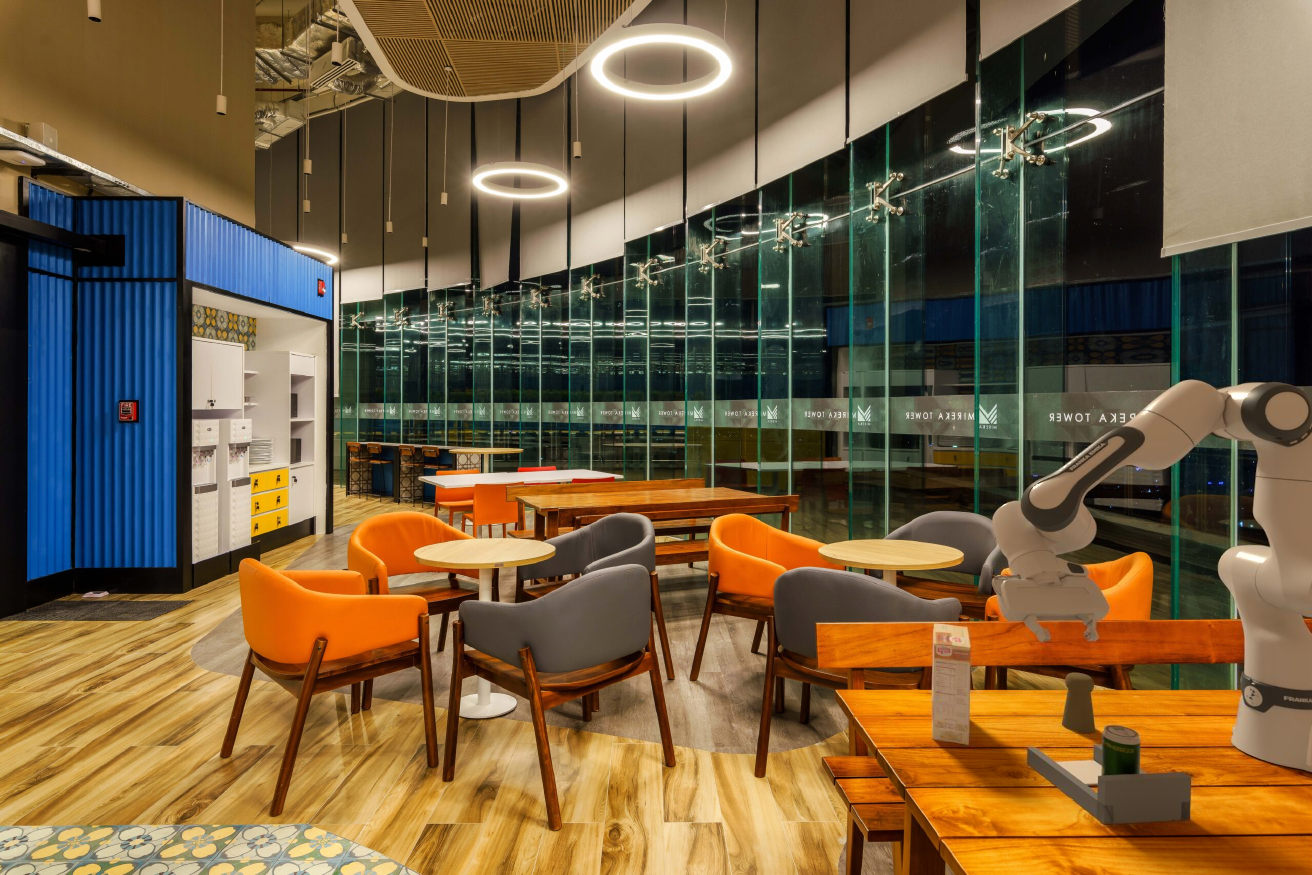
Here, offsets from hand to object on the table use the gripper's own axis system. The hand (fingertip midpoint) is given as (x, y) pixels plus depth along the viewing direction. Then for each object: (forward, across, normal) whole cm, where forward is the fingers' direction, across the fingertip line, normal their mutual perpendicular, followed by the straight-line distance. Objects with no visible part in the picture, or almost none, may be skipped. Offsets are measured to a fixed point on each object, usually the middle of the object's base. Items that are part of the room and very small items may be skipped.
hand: (1069, 639), depth 133 cm
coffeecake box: (+5, -14, +29) cm, 32 cm away
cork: (+6, +14, +27) cm, 31 cm away
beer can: (+26, 0, +7) cm, 27 cm away
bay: (+23, 0, +10) cm, 25 cm away
